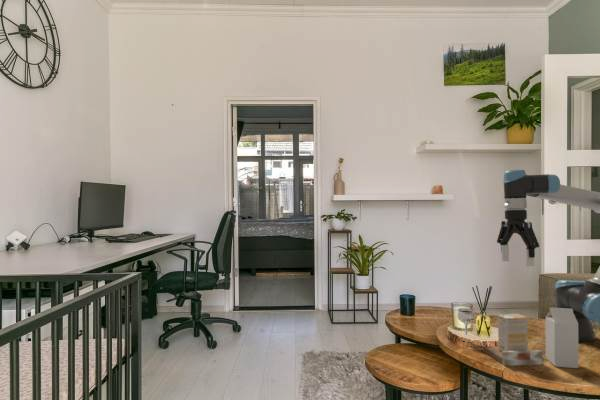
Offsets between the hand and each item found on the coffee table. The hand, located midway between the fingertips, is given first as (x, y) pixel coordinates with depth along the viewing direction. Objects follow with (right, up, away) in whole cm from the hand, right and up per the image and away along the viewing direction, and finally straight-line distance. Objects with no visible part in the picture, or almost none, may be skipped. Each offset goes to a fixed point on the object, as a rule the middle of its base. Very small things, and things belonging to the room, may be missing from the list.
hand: (517, 263), depth 147 cm
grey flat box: (-10, -31, -13) cm, 35 cm away
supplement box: (-10, -30, -14) cm, 34 cm away
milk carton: (+5, -32, -18) cm, 37 cm away
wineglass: (-18, -32, +4) cm, 37 cm away
